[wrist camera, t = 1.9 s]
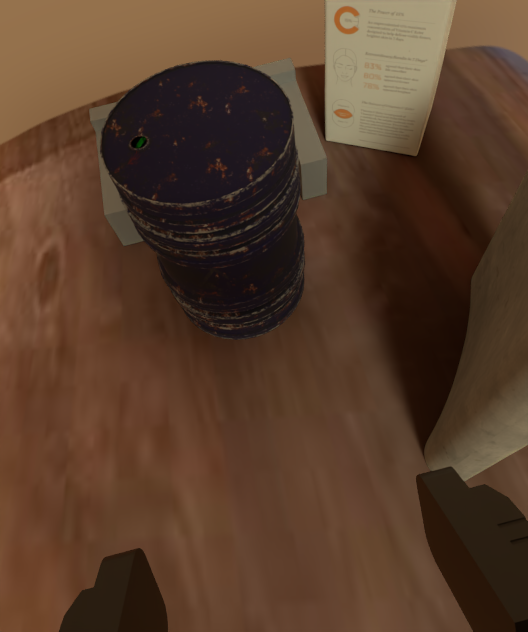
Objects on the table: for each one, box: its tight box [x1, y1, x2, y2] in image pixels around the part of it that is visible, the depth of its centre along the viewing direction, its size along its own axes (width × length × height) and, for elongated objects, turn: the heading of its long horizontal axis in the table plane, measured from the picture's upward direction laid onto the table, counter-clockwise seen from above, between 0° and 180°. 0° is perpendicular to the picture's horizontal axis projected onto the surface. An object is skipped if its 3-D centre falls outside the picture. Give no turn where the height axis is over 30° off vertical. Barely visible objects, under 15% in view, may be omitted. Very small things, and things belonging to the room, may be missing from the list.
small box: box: [325, 0, 457, 156], centre depth 37 cm, size 8×6×13 cm
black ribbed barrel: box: [100, 61, 305, 340], centre depth 31 cm, size 10×10×15 cm
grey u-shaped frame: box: [89, 58, 327, 246], centre depth 40 cm, size 17×10×5 cm, turn 103°
